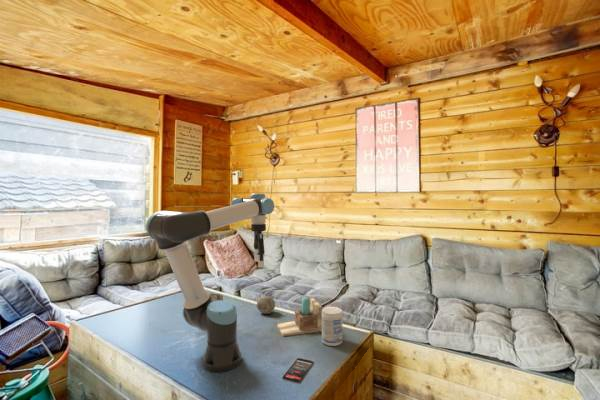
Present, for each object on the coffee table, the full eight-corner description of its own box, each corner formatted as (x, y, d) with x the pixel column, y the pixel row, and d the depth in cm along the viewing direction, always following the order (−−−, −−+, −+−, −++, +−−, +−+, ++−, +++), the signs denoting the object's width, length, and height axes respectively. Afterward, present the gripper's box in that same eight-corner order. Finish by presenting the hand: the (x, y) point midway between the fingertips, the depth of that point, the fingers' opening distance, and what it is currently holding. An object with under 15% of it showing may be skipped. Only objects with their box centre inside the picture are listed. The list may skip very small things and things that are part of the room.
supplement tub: (337, 349, 133) (337, 315, 133) (318, 343, 138) (317, 311, 137) (345, 339, 141) (345, 308, 141) (326, 335, 146) (326, 304, 146)
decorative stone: (277, 312, 174) (277, 294, 174) (269, 317, 167) (269, 299, 167) (263, 309, 179) (262, 292, 179) (254, 314, 172) (254, 296, 171)
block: (316, 327, 152) (316, 315, 151) (299, 329, 149) (299, 317, 149) (311, 320, 160) (311, 308, 160) (294, 322, 158) (294, 310, 158)
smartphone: (281, 378, 112) (297, 357, 125) (281, 380, 112) (297, 359, 125) (299, 383, 109) (314, 361, 123) (299, 384, 109) (314, 363, 123)
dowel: (303, 324, 152) (302, 300, 152) (300, 320, 156) (300, 297, 156) (310, 323, 153) (310, 299, 153) (308, 319, 157) (308, 296, 157)
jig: (322, 330, 150) (321, 306, 150) (282, 336, 145) (282, 311, 144) (313, 320, 163) (313, 298, 162) (277, 325, 157) (276, 302, 157)
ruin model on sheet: (204, 306, 185) (204, 290, 185) (207, 304, 188) (207, 289, 188) (219, 309, 181) (219, 292, 181) (223, 307, 184) (222, 291, 183)
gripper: (270, 225, 146) (270, 269, 146) (261, 220, 170) (262, 258, 170) (254, 226, 144) (255, 270, 144) (248, 221, 168) (248, 259, 168)
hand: (259, 264), depth 157 cm, fingers open, 13 cm apart
